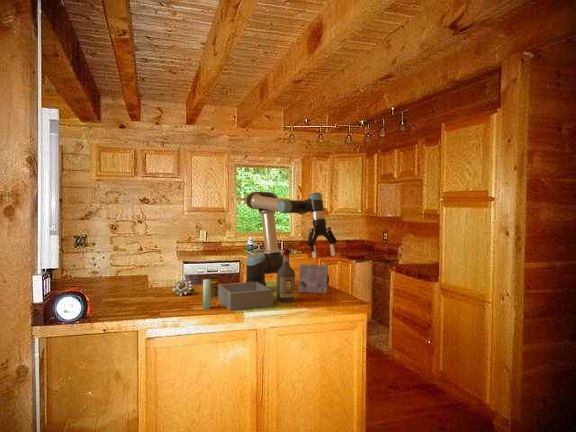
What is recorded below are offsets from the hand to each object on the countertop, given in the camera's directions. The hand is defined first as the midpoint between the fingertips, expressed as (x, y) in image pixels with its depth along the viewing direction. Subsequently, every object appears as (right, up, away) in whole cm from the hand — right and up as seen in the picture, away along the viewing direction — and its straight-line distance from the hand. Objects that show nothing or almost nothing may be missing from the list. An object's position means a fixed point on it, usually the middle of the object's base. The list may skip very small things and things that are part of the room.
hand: (324, 256), depth 222 cm
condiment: (-66, -26, +15) cm, 73 cm away
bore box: (-45, -26, -1) cm, 52 cm away
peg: (-64, -26, -12) cm, 70 cm away
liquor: (-22, -26, +7) cm, 35 cm away
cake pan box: (-4, -26, +30) cm, 40 cm away
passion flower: (-84, -25, +18) cm, 89 cm away
